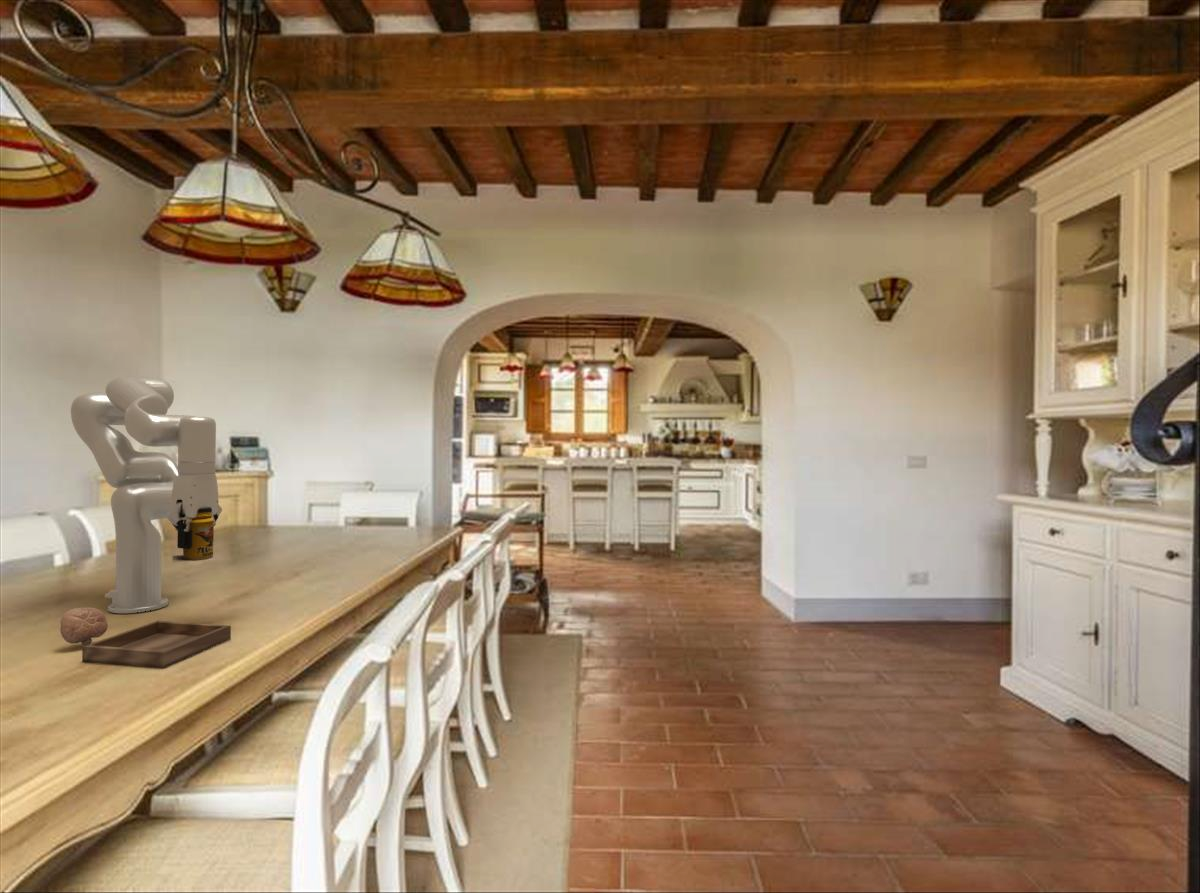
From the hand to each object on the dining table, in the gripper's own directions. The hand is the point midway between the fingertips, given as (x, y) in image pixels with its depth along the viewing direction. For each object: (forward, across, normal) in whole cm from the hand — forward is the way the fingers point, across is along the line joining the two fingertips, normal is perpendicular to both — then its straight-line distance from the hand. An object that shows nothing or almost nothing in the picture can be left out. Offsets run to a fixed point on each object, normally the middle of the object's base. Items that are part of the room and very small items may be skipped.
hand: (195, 544), depth 154 cm
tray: (+18, +18, +8) cm, 27 cm away
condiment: (+3, 0, 0) cm, 3 cm away
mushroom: (+19, +19, -9) cm, 28 cm away
